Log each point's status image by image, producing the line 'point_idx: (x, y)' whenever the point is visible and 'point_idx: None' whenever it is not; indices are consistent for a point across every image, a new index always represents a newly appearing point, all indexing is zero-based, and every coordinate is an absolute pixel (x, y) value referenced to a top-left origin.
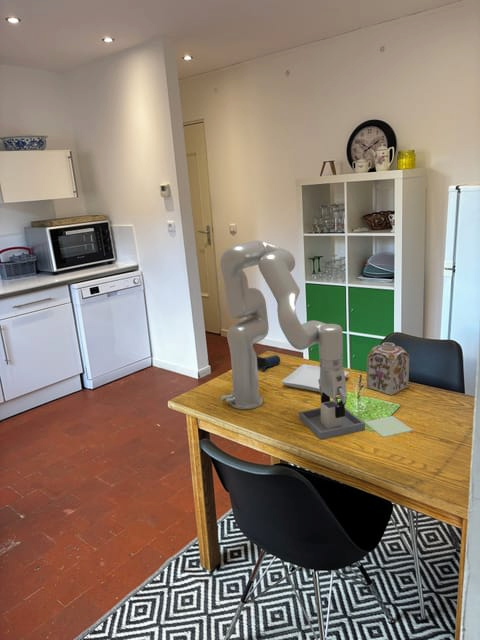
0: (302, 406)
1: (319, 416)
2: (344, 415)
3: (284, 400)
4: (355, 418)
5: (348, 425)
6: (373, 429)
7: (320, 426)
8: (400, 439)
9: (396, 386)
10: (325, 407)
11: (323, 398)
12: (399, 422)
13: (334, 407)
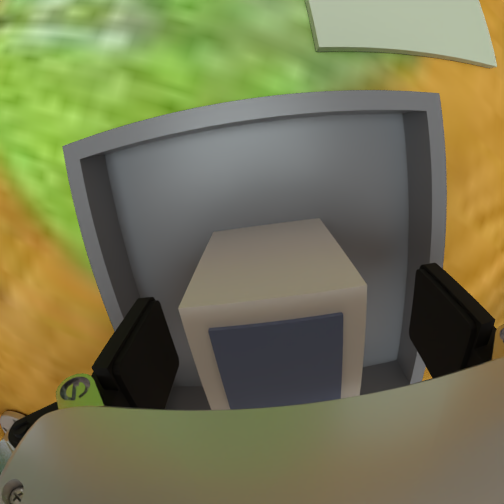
0: (34, 323)
1: None
2: (435, 267)
3: (3, 359)
4: (342, 111)
5: (432, 223)
6: (423, 52)
7: None
8: (493, 9)
9: None
10: None
11: (157, 408)
12: None
13: (356, 357)
